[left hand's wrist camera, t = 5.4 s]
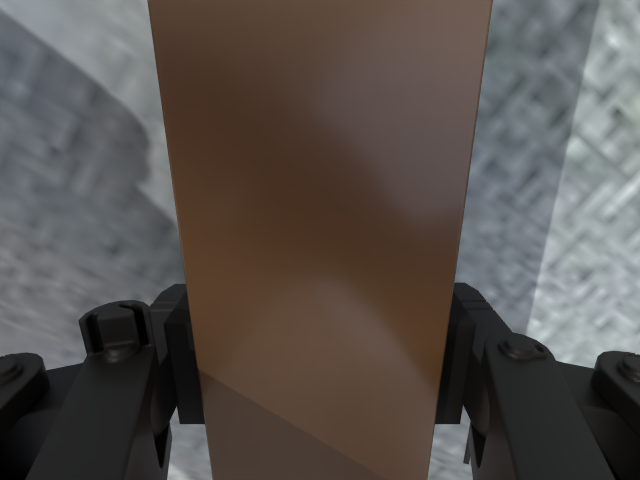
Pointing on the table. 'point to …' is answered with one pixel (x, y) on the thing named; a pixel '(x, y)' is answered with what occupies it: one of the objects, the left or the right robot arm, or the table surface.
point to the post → (320, 221)
